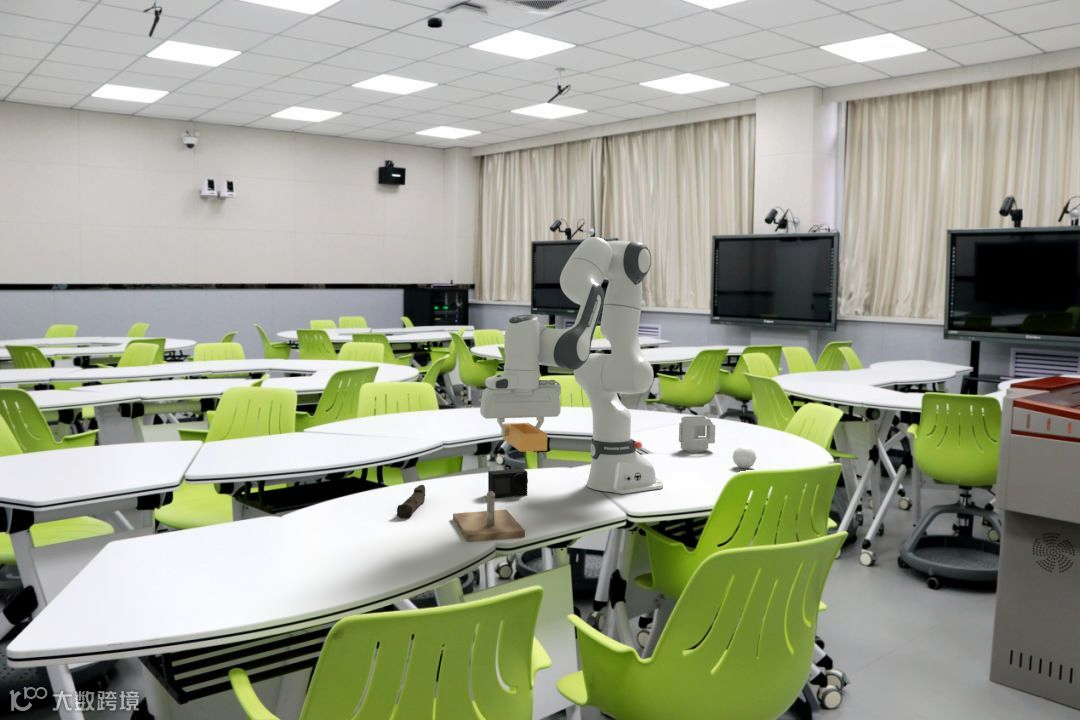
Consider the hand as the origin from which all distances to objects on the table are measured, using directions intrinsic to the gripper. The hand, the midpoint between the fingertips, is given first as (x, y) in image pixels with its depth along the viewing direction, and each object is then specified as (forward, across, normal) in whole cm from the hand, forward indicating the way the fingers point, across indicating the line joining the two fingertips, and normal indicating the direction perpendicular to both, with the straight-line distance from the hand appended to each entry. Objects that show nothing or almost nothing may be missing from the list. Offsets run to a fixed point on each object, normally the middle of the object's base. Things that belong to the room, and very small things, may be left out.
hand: (520, 435), depth 205 cm
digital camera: (+22, -4, -24) cm, 33 cm away
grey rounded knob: (+20, -87, -36) cm, 96 cm away
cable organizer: (+20, -84, -62) cm, 106 cm away
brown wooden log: (+23, +24, -19) cm, 38 cm away
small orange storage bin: (+2, 0, +4) cm, 4 cm away
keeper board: (+22, +9, +3) cm, 24 cm away
